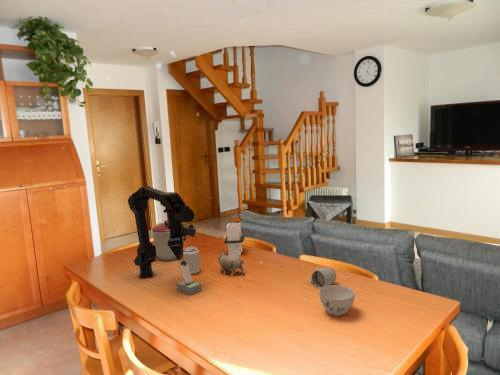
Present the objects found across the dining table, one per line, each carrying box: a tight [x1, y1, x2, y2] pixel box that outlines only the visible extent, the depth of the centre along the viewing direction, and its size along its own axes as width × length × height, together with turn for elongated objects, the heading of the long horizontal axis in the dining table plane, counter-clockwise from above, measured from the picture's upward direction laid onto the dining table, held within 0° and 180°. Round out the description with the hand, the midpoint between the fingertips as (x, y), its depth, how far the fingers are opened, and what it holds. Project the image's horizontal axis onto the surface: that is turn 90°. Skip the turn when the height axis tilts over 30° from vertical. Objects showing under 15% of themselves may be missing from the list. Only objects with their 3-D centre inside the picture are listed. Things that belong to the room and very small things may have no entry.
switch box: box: [176, 280, 203, 296], centre depth 166 cm, size 9×6×3 cm, turn 49°
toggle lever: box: [179, 260, 194, 284], centre depth 165 cm, size 3×3×10 cm
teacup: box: [318, 284, 356, 317], centre depth 140 cm, size 15×12×8 cm
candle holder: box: [223, 222, 246, 256], centre depth 212 cm, size 25×24×16 cm
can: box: [182, 246, 201, 275], centre depth 187 cm, size 8×8×12 cm
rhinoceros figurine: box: [216, 252, 246, 277], centre depth 183 cm, size 8×14×15 cm
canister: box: [150, 219, 183, 261], centre depth 211 cm, size 18×18×21 cm
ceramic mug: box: [310, 266, 337, 289], centre depth 164 cm, size 11×8×8 cm
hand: (180, 257), depth 168 cm, fingers open, 9 cm apart
